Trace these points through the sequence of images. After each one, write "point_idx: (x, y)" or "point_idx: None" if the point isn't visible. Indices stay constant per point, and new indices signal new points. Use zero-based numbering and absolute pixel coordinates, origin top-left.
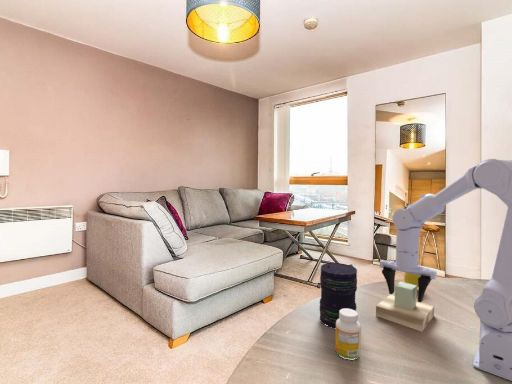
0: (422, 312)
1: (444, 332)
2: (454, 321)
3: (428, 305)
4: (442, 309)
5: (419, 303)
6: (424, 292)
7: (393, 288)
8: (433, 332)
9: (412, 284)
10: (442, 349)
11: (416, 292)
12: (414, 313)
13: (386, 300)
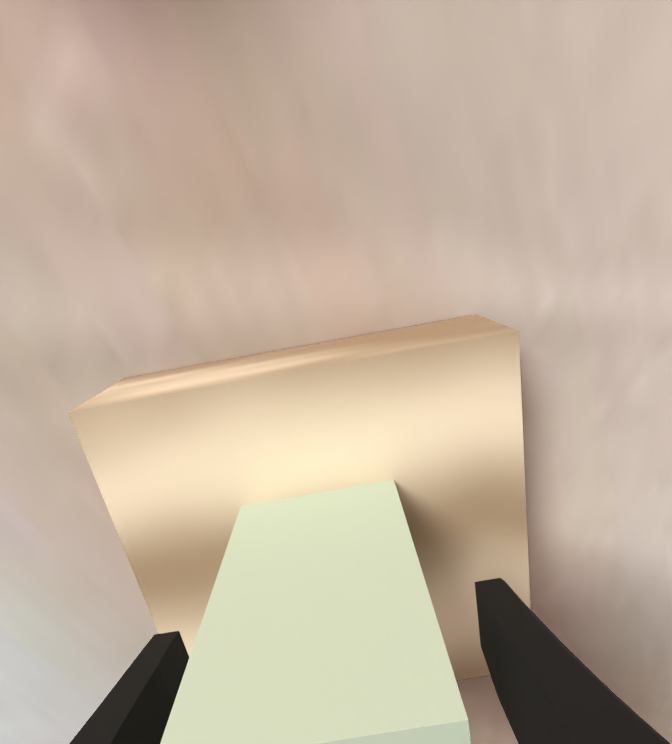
0: (486, 557)
1: (596, 498)
2: (622, 268)
3: (473, 373)
4: (485, 73)
5: (391, 401)
6: (583, 675)
7: (161, 711)
8: (545, 550)
9: (383, 729)
10: (622, 661)
11: (432, 606)
12: (448, 619)
13: (167, 589)
